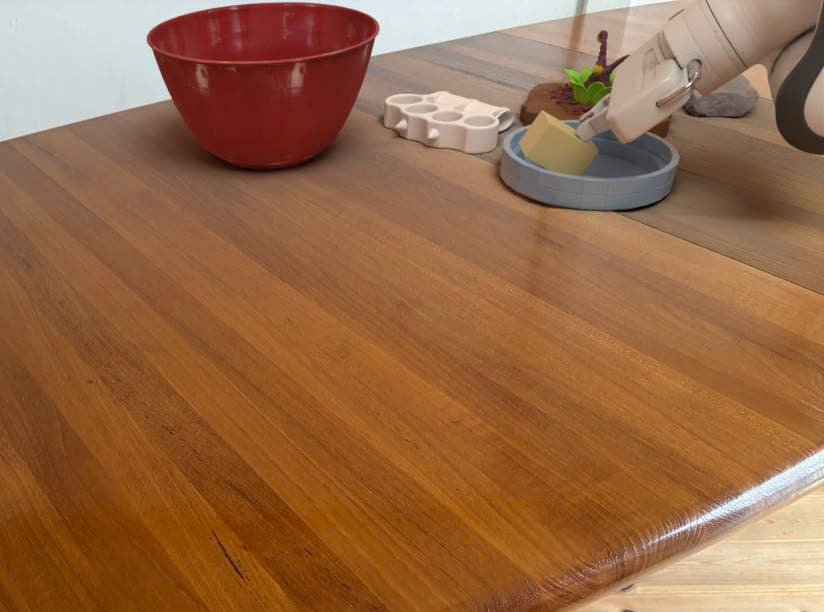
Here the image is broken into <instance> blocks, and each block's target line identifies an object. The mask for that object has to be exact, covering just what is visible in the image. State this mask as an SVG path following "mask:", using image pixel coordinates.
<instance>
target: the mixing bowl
mask: <svg viewBox="0 0 824 612" xmlns="http://www.w3.org/2000/svg"><path fill="white" fill-rule="evenodd" d="M380 29H381V28H380V23H379V22H378V21H377V19H376V18H374V17H373V16H372V15H370V14H368V13H366V12H363V11H360V10H358V9H355V8H350V7H347V6H342V5H336V4H327V3H319V2H308V1H307V2H303V1H273V2H256V3H255V2H254V3H253V2H252V3H243V4H234V5H226V6H217V7H211V8H207V9H202V10H196V11H193V12H188V13H184V14H180V15H177V16H174V17H172V18H169V19H167V20H164V21H162V22H161V23H158V24H157V25H155V26H153V27H152V28H151V29H150V30H149V32H148V33H147V35H146V43H147V45H148V46H149V47H150V49H151V50H152V53H153V56H154V59H155V61H156V64H157V68H158V70H159V72H160V75H161V78H162V81H163V82H164V85H165V87H166V89H167V91H168V94H169V96H170V98H171V100H172V102H173V103H174V106H175V108H176V109H177V111H178V113H179V114H180V117H181V119H182V120H183V121H184V123H185V125H186V126H187V127H188V129H189V131H190V132H191V134H192V136H194V138H195V139H196V141H197V142H198V143H199V144H200V146H201V147H203V148H204V149H205V150H206V151H208V152H209V153H211V154H212V155H214V156H216V157H217V158H219V159H222V160H223V161H224V162H226V163H229V164H230V165H233V166H236V167H239V168H247V169H257V170H258V169H259V170H270V169H282V168H288V167H293V166H296V165H299V164H300V165H301V164H303V163H305V162H308V161H310V160H311V159H313V158H314V157H316V155H317V154H320V153H321V152H322V151H324V150H325V149H327V148H328V146H330V145H331V144H332V143H333V142H334V141H335V140H336V138H338V136H339V134H340V133H341V131H342V129H343V127H344V125H345V124H346V121H348V119H349V116H350V114H351V112H352V110H353V108H354V105H355V104H356V101H357V99H358V96H359V94H360V91H361V88H362V86H363V83H364V80H365V77H366V74H367V72H368V71H367V70H368V67H369V64H370V60H371V57H372V53H373V49H374V45H375V41H376V37H377V36H378V35H379V33H380Z"/></svg>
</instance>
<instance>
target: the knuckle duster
mask: <svg viewBox="0 0 824 612" xmlns="http://www.w3.org/2000/svg"><path fill="white" fill-rule="evenodd" d="M383 108H384V109H383V126H384V127H385V128H386V129H392V130H394V131H397V132H398V133H399V136H400V137H402V138H404V139H406V140H409V141H414V142H415V141H416V142H419V143H421V144H423V145H424V146H425V147H431V148H435V149H436V148H437V149H449V150H455V151H460V152H462V153H464V154H471V155H473V154H474V155H476V154H477V155H478V154H486V153H489V152H492V151H493V150H495V149H496V147H497V145H498V137H499V133H500V132H502V131H505V130H507V129H508V128H510V126H511V125H512V124H513V122H514V120H515V112H514V111H513V110H511V109H510V108H509V107H505V106H501V107H500V106H496V105H492V104H489V103H485V102H482V101H480V100H478V99H476V98H467V97H464V96H460V95H456V94H453V93H450V92H449V91H447V90H441V91H440V90H439V91H435V92H431V93H430V94H417V93H416V94H415V93H399V94H393V95H390V96H387V98H386V99H384V107H383Z"/></svg>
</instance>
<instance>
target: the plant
mask: <svg viewBox="0 0 824 612" xmlns="http://www.w3.org/2000/svg"><path fill="white" fill-rule="evenodd" d="M608 38H609V33H608V31H607V30H606V29H605V30H600V32H598V34H597V35H596V41H597V42H598V43H599V44H600V46H599V52H598V56H597V61H596V62H595V65H594V66H593V67H592V69H591V68H589V67H588V66H586V65H584V66H583V67H582V69H581V74H580V73H579V72H577V71H576V70H573V69H571V68H567V67H566V68H565V69H564V73H566V74H567V75H568V77H569V79H570V80H569V81H568V82H558V81H556V82H545V83H544V82H543V83H537V84H536V85H534V86H533V87H532V89H530V90H529V92H528V96H527V102H525V103H523V104H521V106H520V114H519V120H521V121H523V127H525V126H528V125H531V124H532V123H533V122H534V120H535V119H536V118H537V116H538V115H539V113H540V112H541V110H543V111H545V112H546V113H548V114H550V115H551V116H553V117H555V118H557V119H558V120H560V121H561V120H579V119H580V117H581V116H583V115H584V114H586V113H587V112H588V111H590V110H591V109H592V108H593V107H594V106H595V105H596V104H597V103H598V102H599V101H601V100H602V99H603V98H604V97H605V96H606V95H608V94H609V93H610V92H611V89H612V84H613V79H614V73H615V70H616V69H617V67H618V66H619V65H620V64H621V63H622V62H623V61H624V60H625V59H626V58H627V57H629V56H630V55H631V54H625V55H623V56H621V57H620V58H617V59H616V60H615V61H614V62H612V63H611V64H609V65H607V54H608V52H607V50H608V47H607V45H608V41H607V40H608ZM672 115H673V114H672ZM672 115H670V116H669V117H667V118H666V119H665V120H663V121H662V122H660V123H659V124H658V125H656V126H655V127H653V128H652V129H650V130H649V131H647V132H650V133H653V134H655V135H657V136H659V137H661V138H665V137H667V136H668V134H669V130H670V127H671V126H670V125H671V121H672V120H671V119H672Z"/></svg>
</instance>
